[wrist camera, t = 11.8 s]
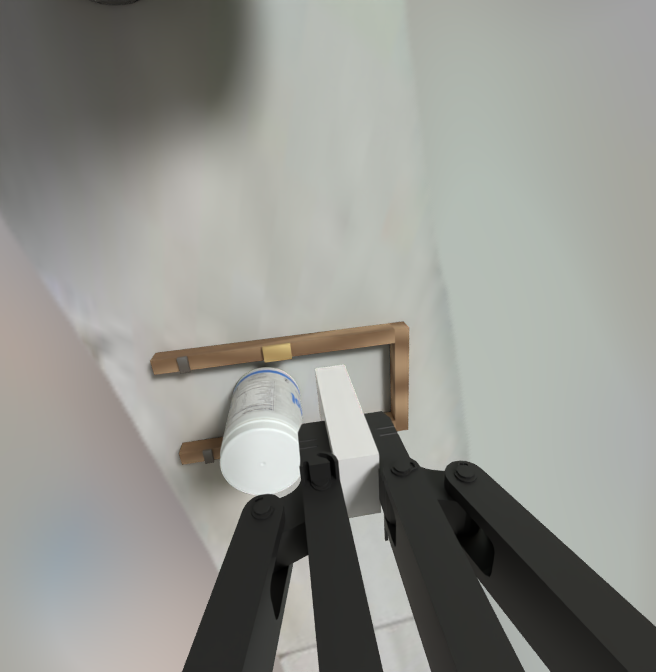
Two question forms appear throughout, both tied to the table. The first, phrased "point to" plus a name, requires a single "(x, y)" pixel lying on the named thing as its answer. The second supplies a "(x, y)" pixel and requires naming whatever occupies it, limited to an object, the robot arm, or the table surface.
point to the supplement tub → (262, 433)
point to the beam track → (286, 350)
